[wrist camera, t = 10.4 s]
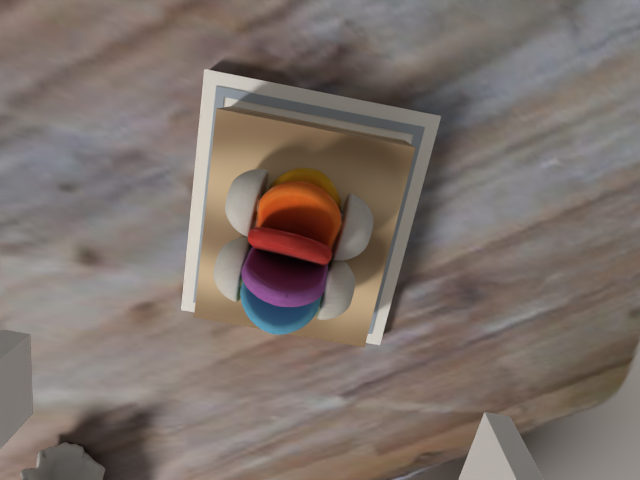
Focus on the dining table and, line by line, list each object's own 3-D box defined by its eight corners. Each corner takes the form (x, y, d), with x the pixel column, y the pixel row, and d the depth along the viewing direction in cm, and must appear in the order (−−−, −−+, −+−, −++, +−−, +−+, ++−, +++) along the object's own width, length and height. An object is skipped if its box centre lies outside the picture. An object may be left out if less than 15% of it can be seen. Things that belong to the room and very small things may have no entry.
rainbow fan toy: (379, 180, 27) (396, 211, 20) (339, 316, 30) (341, 383, 23) (244, 146, 27) (214, 166, 20) (217, 288, 30) (183, 348, 23)
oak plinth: (230, 106, 30) (216, 108, 26) (404, 140, 30) (415, 147, 26) (208, 291, 34) (193, 317, 30) (360, 319, 35) (364, 347, 31)
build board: (209, 69, 30) (203, 68, 29) (437, 115, 31) (441, 116, 30) (185, 302, 36) (180, 310, 35) (378, 337, 37) (379, 345, 35)
